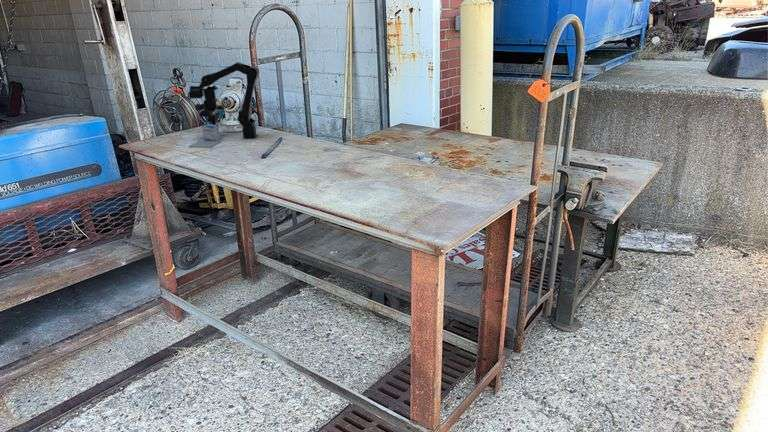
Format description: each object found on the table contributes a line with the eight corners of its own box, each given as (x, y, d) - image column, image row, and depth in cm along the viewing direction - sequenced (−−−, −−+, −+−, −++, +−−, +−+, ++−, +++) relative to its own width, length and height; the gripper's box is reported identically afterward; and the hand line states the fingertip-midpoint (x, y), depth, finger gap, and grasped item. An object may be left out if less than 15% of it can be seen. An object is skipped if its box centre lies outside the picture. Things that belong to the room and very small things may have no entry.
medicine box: (203, 141, 305) (201, 125, 302) (208, 139, 309) (205, 124, 306) (216, 141, 303) (214, 126, 300) (220, 139, 307) (218, 124, 304)
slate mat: (220, 141, 303) (220, 141, 302) (211, 147, 292) (210, 147, 292) (199, 141, 305) (198, 140, 305) (188, 147, 294) (188, 146, 294)
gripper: (204, 94, 312) (208, 122, 318) (188, 101, 295) (192, 129, 301) (223, 95, 310) (226, 122, 316) (207, 101, 293) (211, 130, 299)
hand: (214, 126), depth 308 cm, fingers closed
